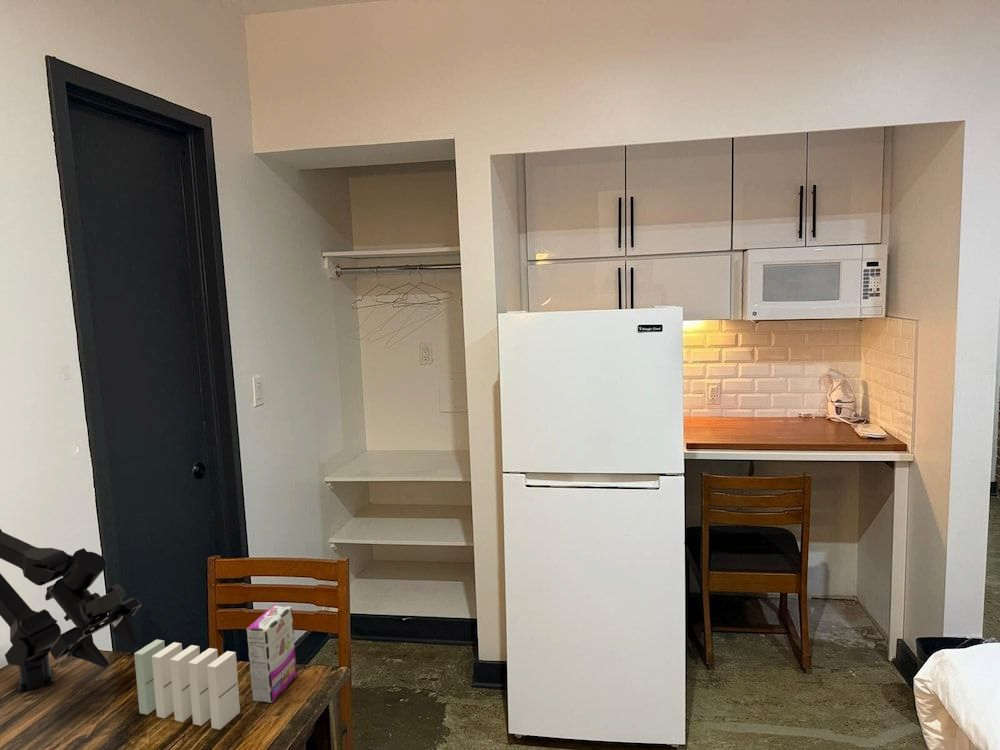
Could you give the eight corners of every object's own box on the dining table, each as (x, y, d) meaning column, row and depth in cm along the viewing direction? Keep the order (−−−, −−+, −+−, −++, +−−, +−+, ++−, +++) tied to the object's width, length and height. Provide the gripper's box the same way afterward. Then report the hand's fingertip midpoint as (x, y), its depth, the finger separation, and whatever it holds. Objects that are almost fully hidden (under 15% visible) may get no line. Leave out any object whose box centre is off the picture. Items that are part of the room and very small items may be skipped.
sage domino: (139, 713, 145) (134, 653, 143) (161, 697, 151) (156, 639, 149) (147, 714, 144) (142, 654, 143) (169, 698, 150) (164, 640, 148)
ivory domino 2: (174, 720, 142) (169, 659, 141) (196, 703, 148) (191, 644, 146) (183, 722, 142) (178, 660, 140) (204, 705, 147) (199, 646, 146)
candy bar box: (277, 673, 159) (272, 604, 157) (297, 675, 158) (293, 605, 156) (250, 702, 148) (245, 627, 146) (272, 704, 147) (267, 629, 145)
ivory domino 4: (211, 727, 139) (206, 665, 138) (231, 710, 145) (227, 650, 143) (220, 729, 139) (215, 667, 137) (240, 712, 144) (235, 652, 143)
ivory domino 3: (192, 724, 141) (188, 662, 139) (213, 707, 146) (209, 647, 145) (201, 725, 140) (196, 664, 139) (221, 708, 146) (217, 649, 144)
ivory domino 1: (156, 716, 144) (151, 656, 142) (178, 700, 149) (173, 642, 148) (164, 718, 143) (159, 657, 141) (186, 701, 149) (181, 643, 147)
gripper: (55, 597, 139) (103, 657, 137) (130, 562, 157) (174, 615, 155) (29, 629, 143) (76, 689, 141) (106, 592, 160) (149, 644, 158)
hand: (122, 657), depth 149 cm, fingers open, 7 cm apart
